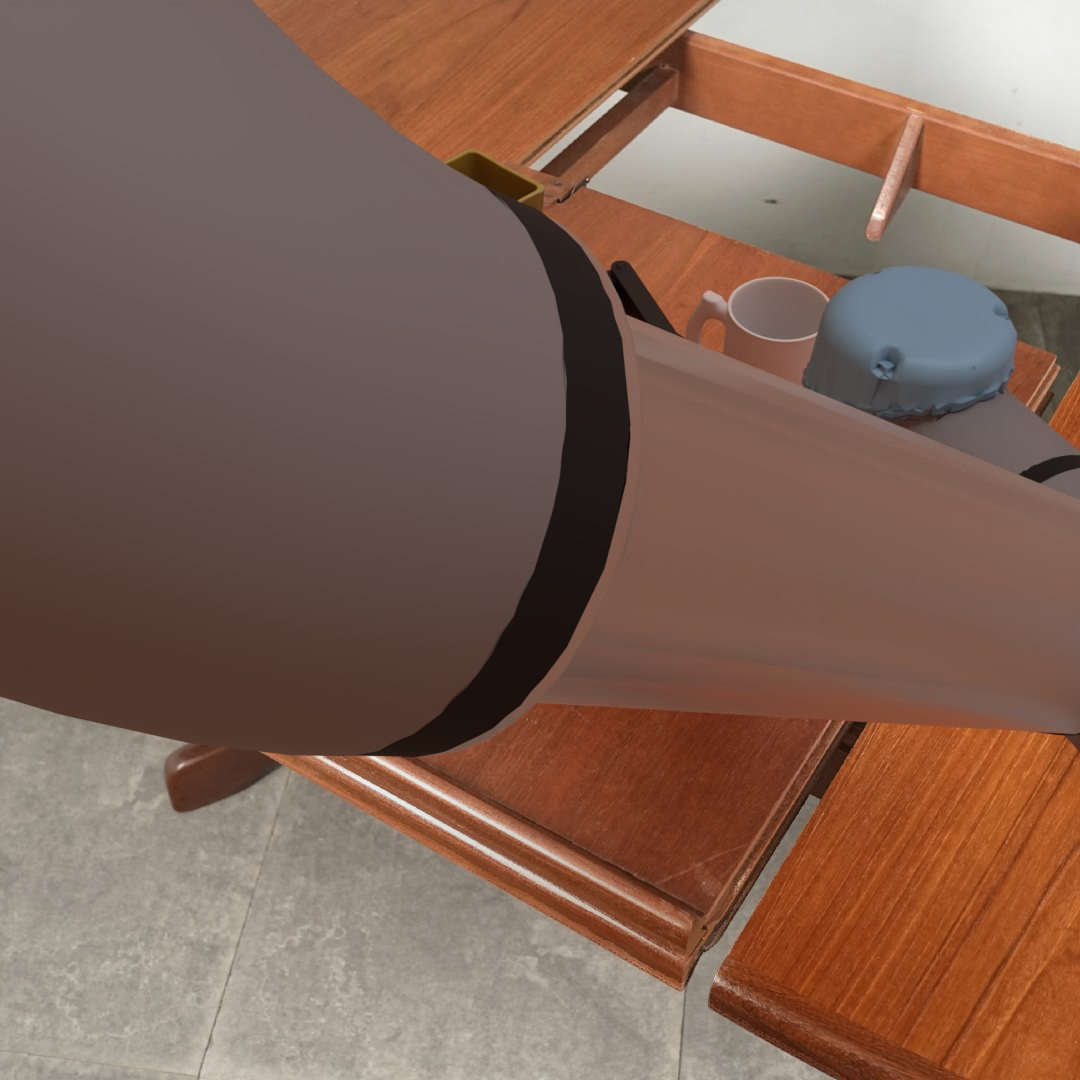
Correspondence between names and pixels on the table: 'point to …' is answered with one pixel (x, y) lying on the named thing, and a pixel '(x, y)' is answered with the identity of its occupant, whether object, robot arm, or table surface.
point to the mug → (766, 324)
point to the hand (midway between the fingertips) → (416, 300)
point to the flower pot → (498, 177)
